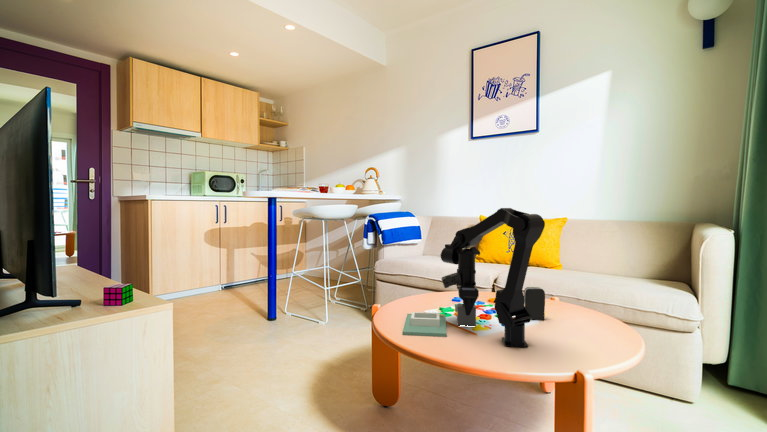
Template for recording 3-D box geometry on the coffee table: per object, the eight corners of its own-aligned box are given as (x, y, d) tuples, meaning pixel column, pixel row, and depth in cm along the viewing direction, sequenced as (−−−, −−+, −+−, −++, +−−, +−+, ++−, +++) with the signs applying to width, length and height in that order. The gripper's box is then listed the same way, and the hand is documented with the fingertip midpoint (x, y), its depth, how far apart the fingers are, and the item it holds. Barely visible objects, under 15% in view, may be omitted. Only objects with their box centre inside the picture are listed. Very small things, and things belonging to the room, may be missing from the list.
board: (446, 336, 117) (446, 325, 117) (402, 334, 119) (402, 324, 119) (445, 317, 137) (445, 308, 137) (407, 316, 139) (407, 306, 139)
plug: (475, 327, 125) (475, 307, 125) (455, 327, 126) (455, 306, 126) (474, 324, 129) (474, 304, 129) (454, 323, 130) (454, 303, 130)
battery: (542, 317, 136) (542, 286, 136) (545, 320, 133) (545, 288, 132) (522, 316, 138) (522, 285, 137) (524, 319, 134) (525, 288, 133)
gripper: (442, 261, 137) (442, 303, 138) (443, 270, 119) (443, 318, 119) (473, 262, 136) (473, 304, 136) (478, 271, 117) (478, 320, 118)
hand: (466, 311), depth 128 cm, fingers open, 9 cm apart
